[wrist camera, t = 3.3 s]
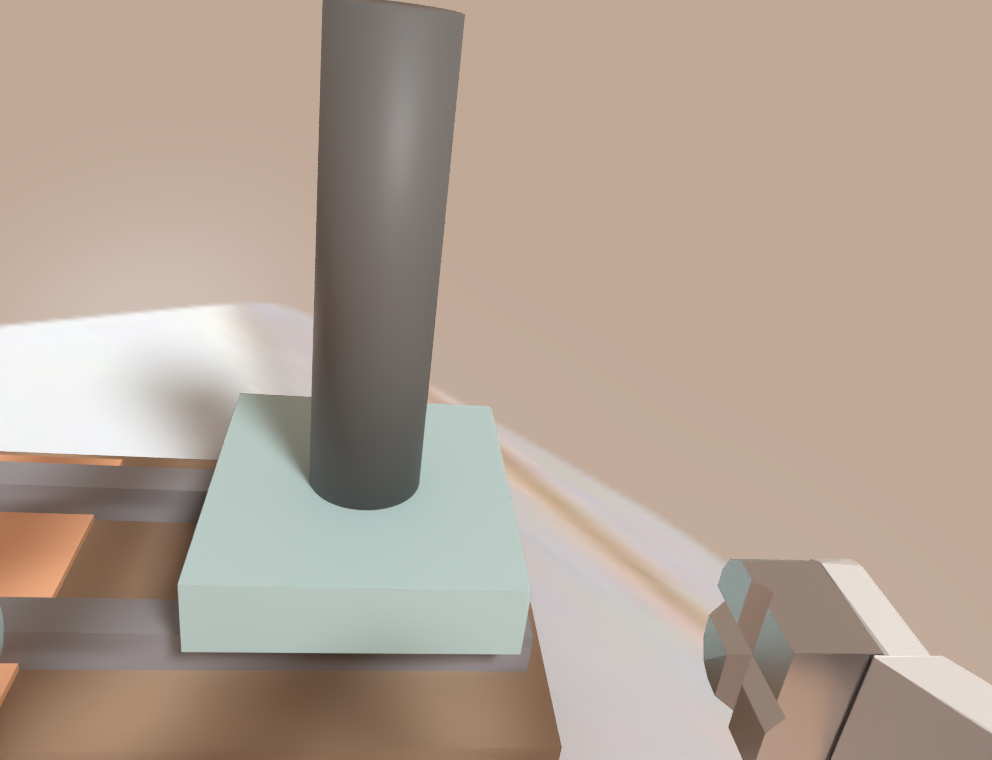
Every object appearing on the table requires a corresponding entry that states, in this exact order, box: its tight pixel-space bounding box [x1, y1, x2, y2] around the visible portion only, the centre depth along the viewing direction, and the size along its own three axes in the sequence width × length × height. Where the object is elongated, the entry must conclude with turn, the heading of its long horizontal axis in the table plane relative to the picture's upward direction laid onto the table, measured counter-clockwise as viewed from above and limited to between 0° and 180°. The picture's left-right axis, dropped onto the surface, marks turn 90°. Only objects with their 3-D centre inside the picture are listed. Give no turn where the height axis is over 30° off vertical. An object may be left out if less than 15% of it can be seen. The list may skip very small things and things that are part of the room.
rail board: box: [0, 451, 562, 760], centre depth 23 cm, size 26×12×4 cm, turn 97°
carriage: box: [178, 0, 532, 654], centre depth 21 cm, size 8×9×14 cm
